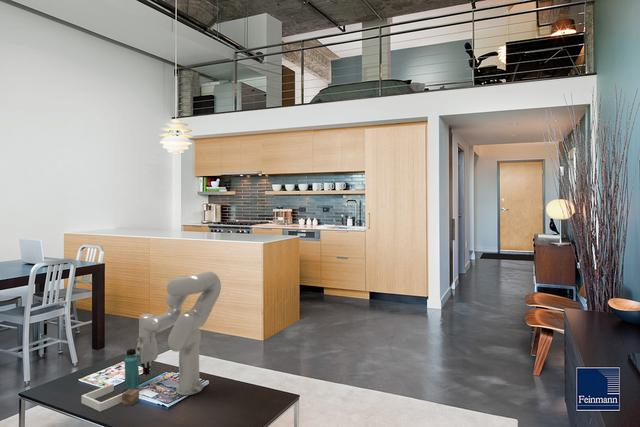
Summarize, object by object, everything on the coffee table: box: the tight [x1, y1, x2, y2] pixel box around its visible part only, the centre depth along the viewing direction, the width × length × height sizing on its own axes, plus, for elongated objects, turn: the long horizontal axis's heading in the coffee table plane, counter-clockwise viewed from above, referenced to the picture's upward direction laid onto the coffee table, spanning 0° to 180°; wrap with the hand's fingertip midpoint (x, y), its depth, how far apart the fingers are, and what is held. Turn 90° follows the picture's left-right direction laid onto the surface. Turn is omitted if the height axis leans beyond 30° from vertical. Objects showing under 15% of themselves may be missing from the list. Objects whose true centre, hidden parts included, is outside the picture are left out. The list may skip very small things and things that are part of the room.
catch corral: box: [80, 383, 124, 413], centre depth 195 cm, size 15×15×4 cm
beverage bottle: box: [124, 348, 140, 390], centre depth 206 cm, size 6×7×20 cm
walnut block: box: [121, 388, 140, 406], centre depth 194 cm, size 5×5×5 cm
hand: (146, 374), depth 214 cm, fingers closed
